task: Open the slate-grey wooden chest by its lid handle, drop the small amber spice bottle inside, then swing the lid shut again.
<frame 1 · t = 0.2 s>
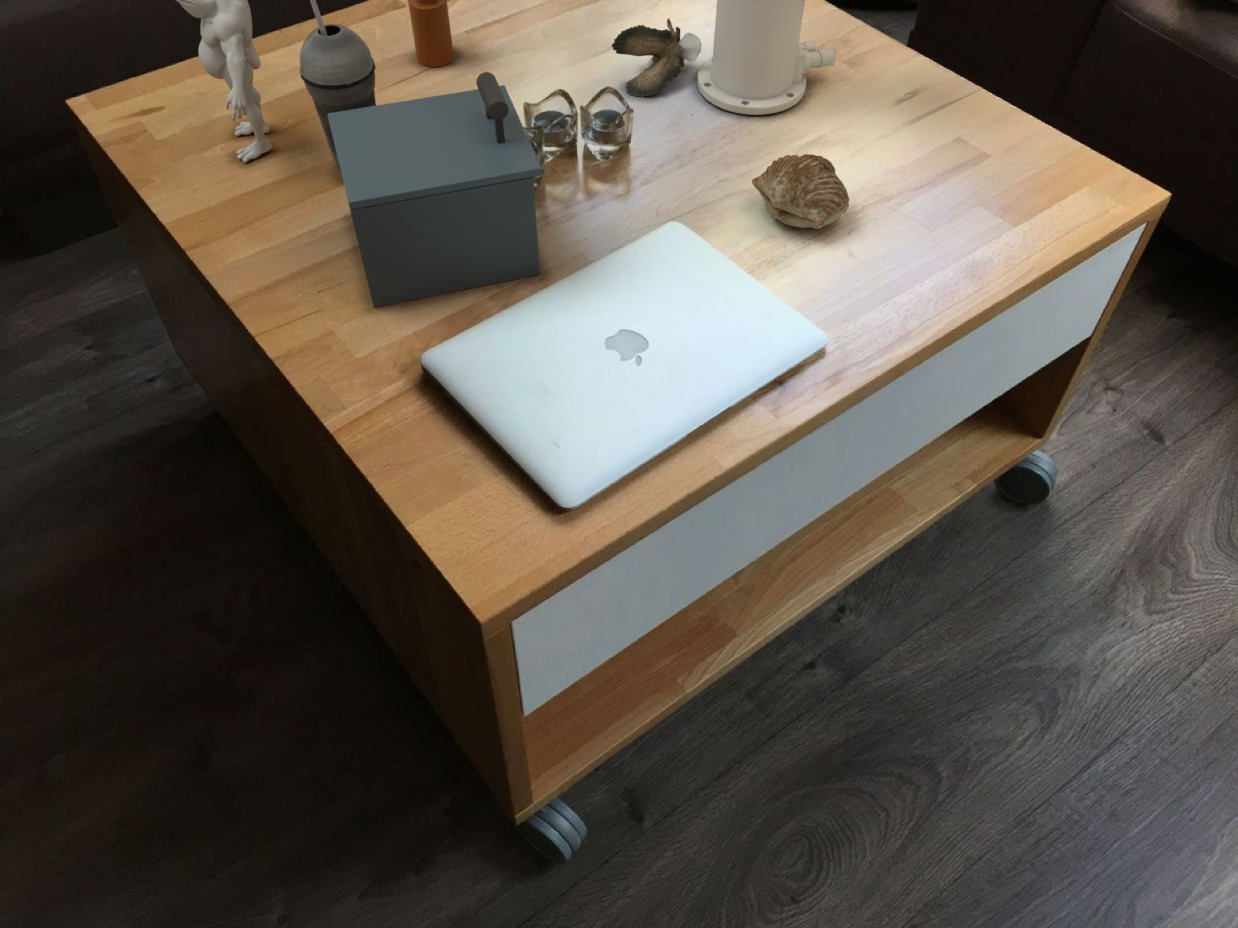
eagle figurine: (656, 79, 120), on the table
seashell: (794, 218, 104), on the table
figurine: (255, 144, 112), on the table
beverage cup: (360, 171, 109), on the table
spice bottle: (435, 58, 123), on the table
chest: (443, 245, 101), on the table
lid: (428, 123, 90), point 14 cm above the table, hinge at 0.0°
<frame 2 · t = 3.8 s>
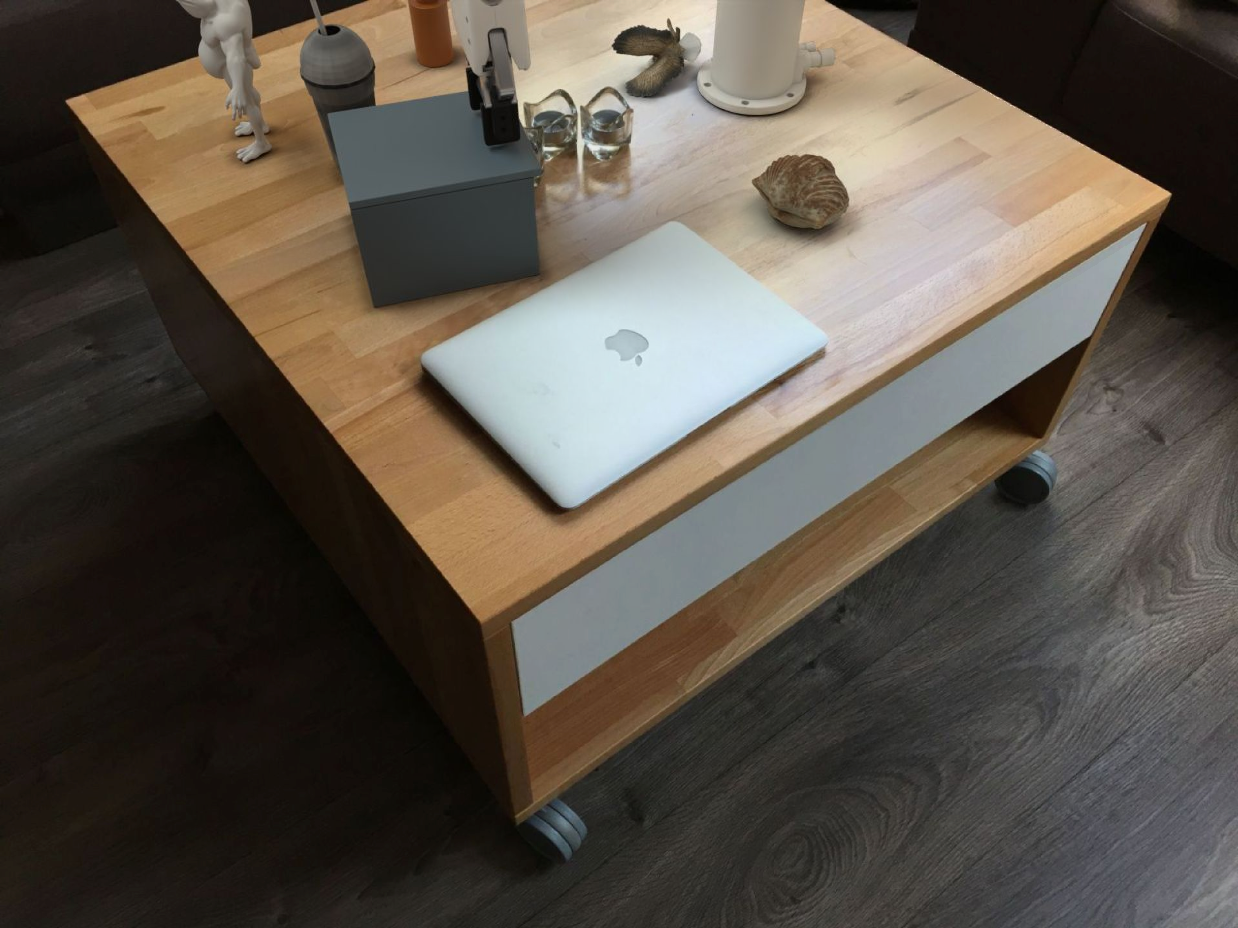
hand: (494, 122, 92), 13 cm above the table, tool pointing down, fingers closed on lid, 5 cm apart
lid: (428, 123, 90), point 14 cm above the table, hinge at 0.0°, touching gripper
everything else where it was.
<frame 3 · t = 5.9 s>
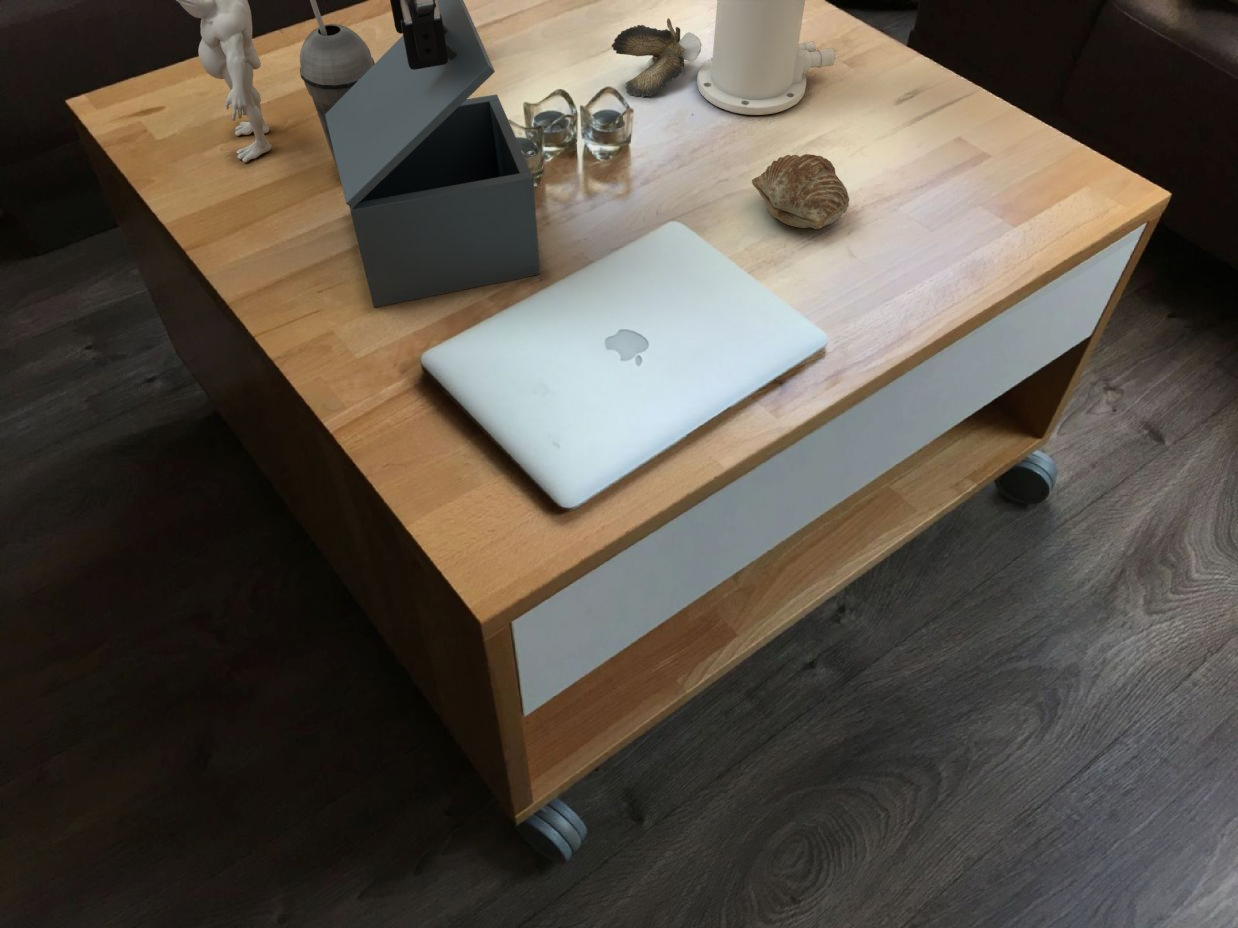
hand: (421, 45, 85), 21 cm above the table, tool pointing down, fingers closed on lid, 5 cm apart
lid: (385, 79, 86), point 18 cm above the table, hinge at 37.8°, touching gripper
everything else where it was.
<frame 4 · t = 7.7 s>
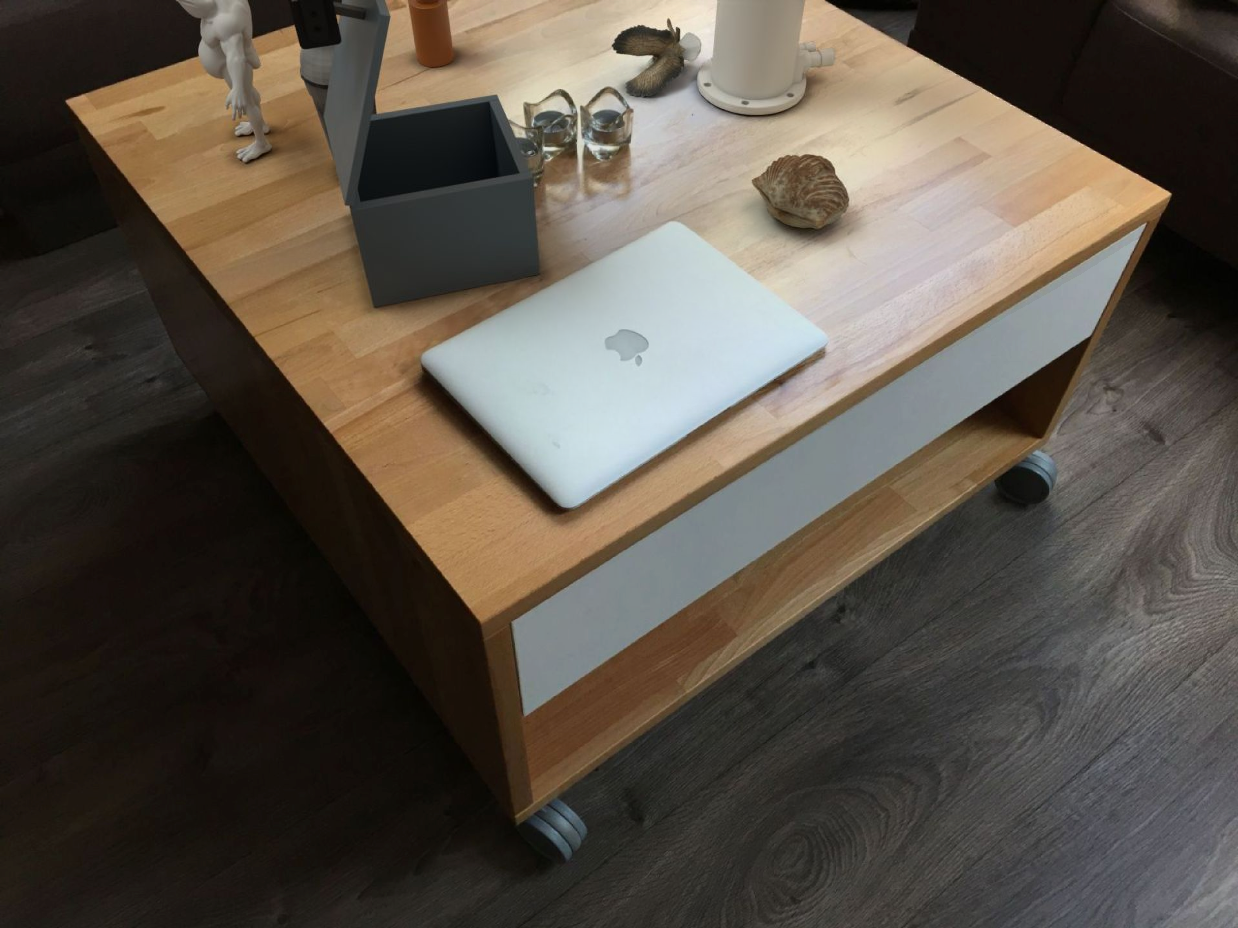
hand: (316, 24, 81), 24 cm above the table, tool pointing down, fingers closed on lid, 5 cm apart
lid: (327, 67, 84), point 20 cm above the table, hinge at 69.9°, touching gripper
everything else where it was.
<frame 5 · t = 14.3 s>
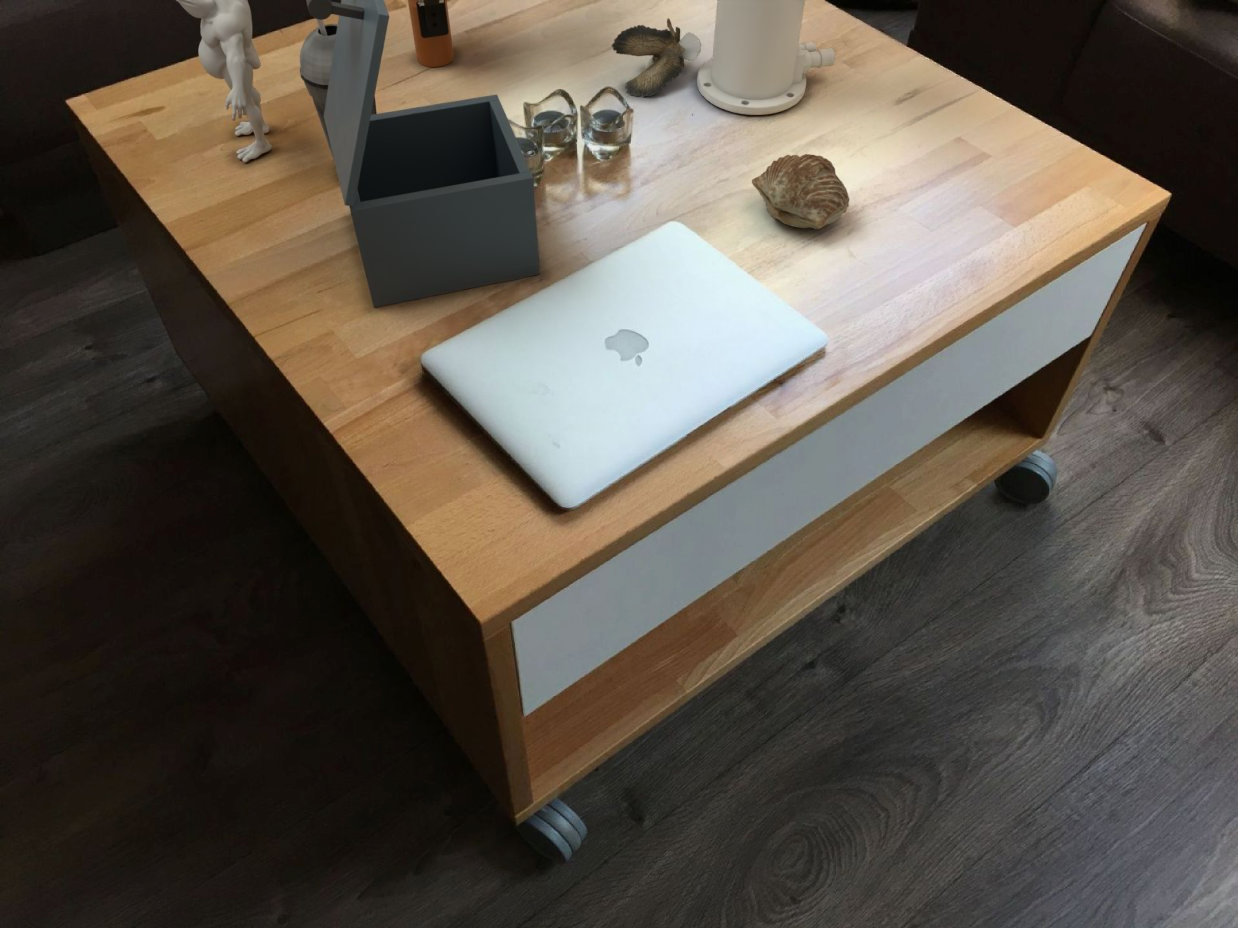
hand: (430, 23, 119), 4 cm above the table, tool pointing down, fingers closed on spice bottle, 4 cm apart
spice bottle: (435, 58, 123), on the table, touching gripper
lid: (327, 67, 84), point 20 cm above the table, hinge at 70.2°
everything else where it was.
when the fingers open (23 cm above the table, at t = 21.0 s): spice bottle drops 17 cm, resting on chest.
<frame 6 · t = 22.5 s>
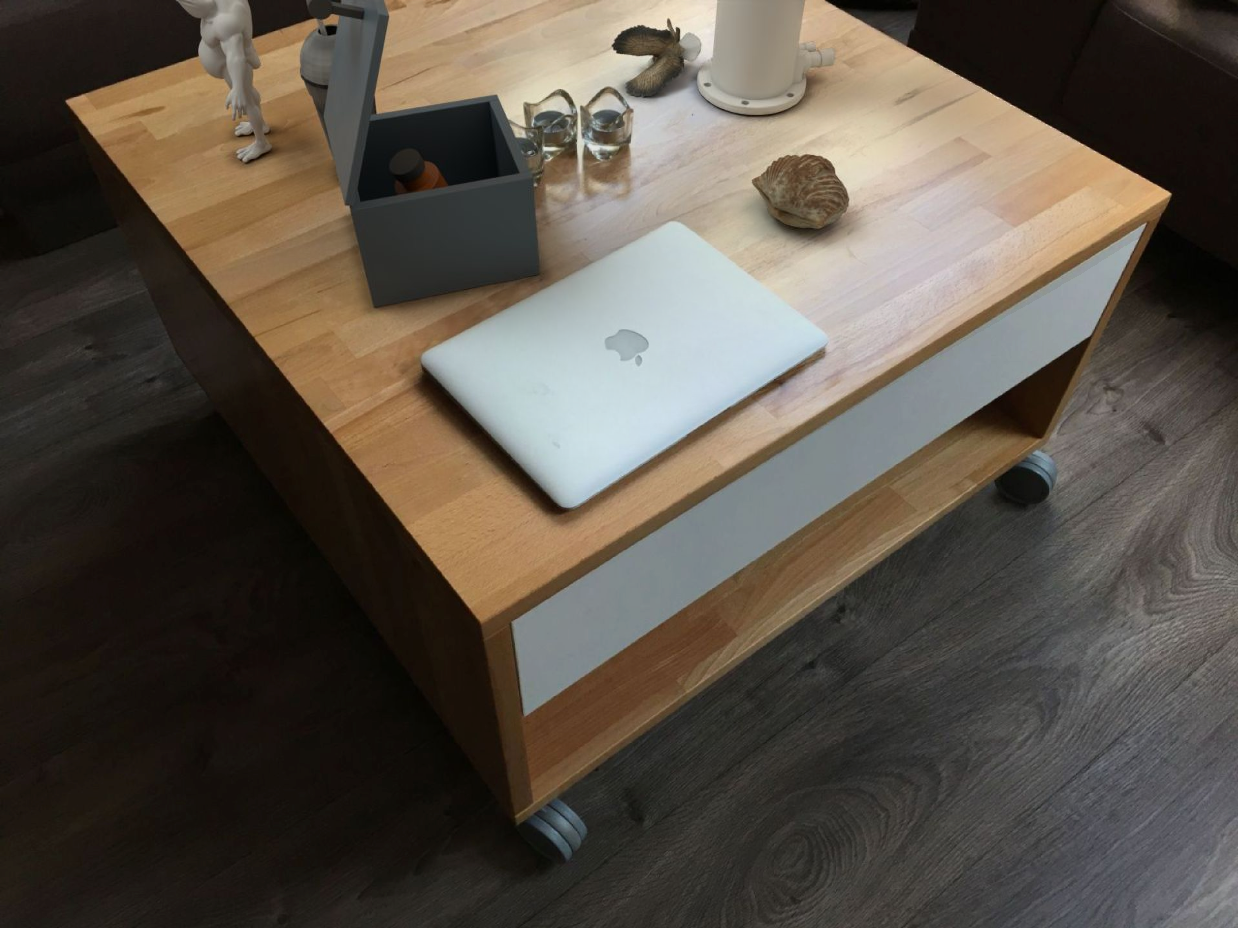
spice bottle: (449, 229, 99), point 2 cm above the table, tilted 20°, touching chest
everything else where it was.
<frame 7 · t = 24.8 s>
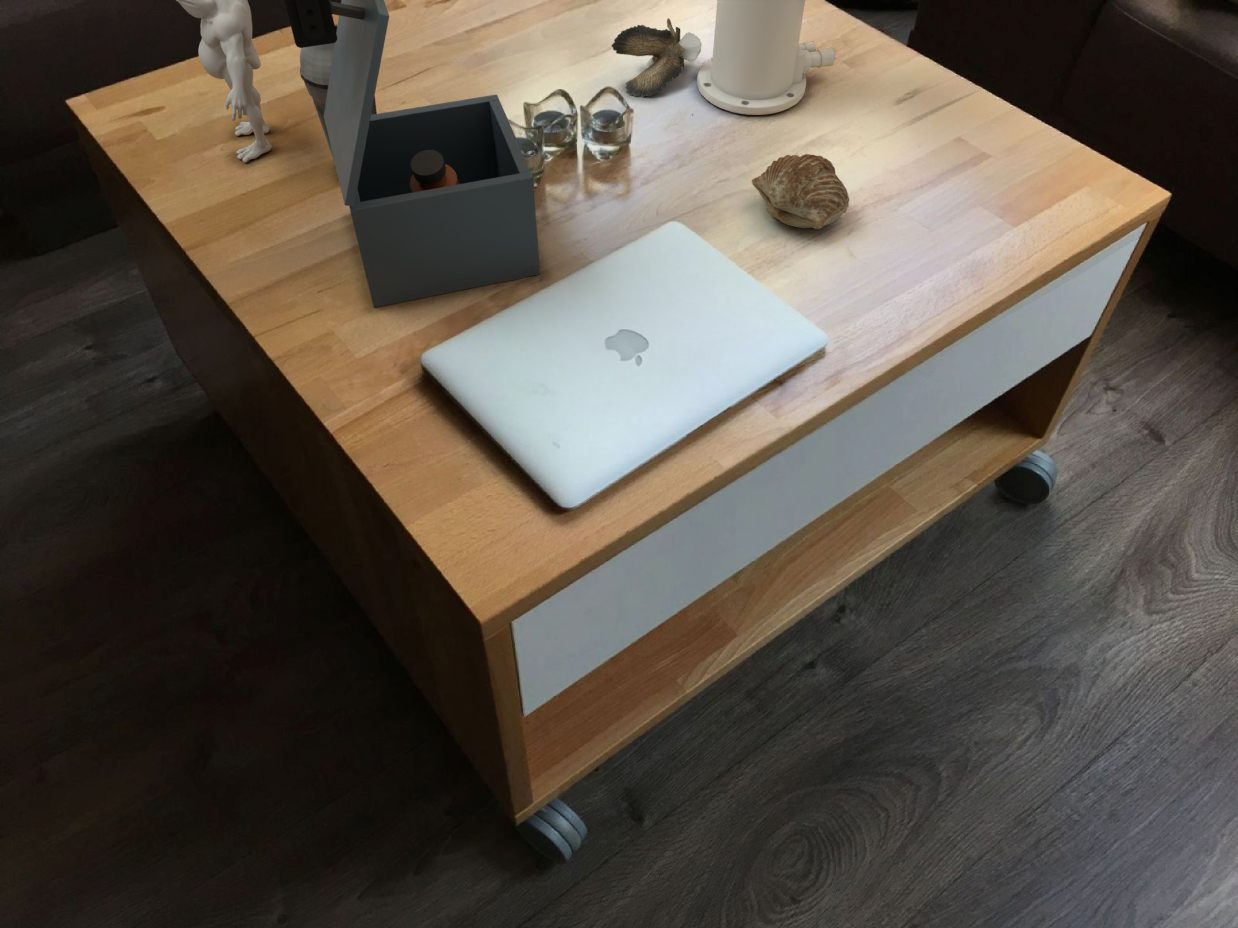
hand: (311, 23, 81), 24 cm above the table, tool pointing down, fingers closed on lid, 5 cm apart
spice bottle: (450, 231, 100), point 2 cm above the table, tilted 14°, touching chest
lid: (327, 67, 84), point 20 cm above the table, hinge at 70.2°, touching gripper
everything else where it was.
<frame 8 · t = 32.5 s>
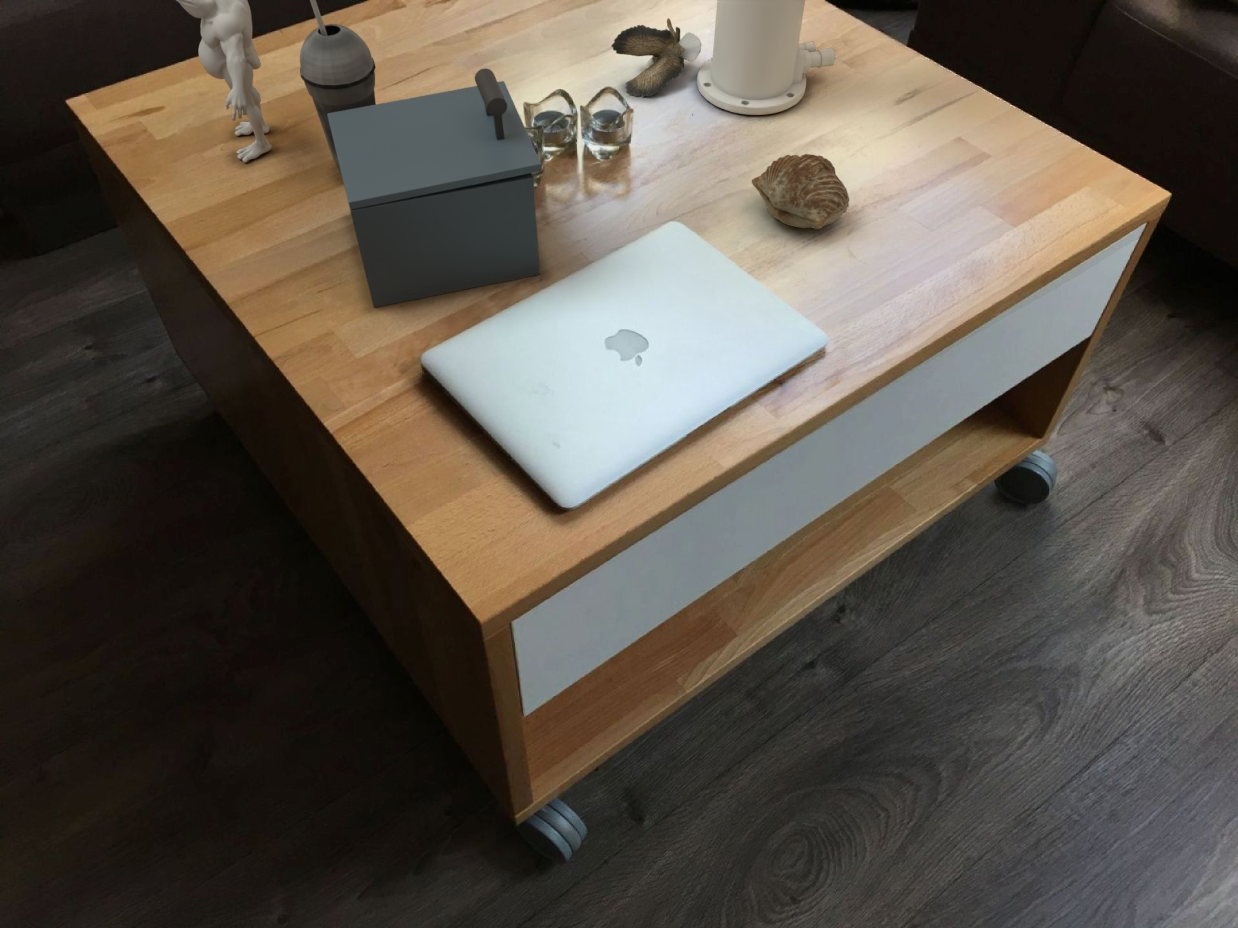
spice bottle: (451, 235, 100), point 1 cm above the table, touching chest
lid: (427, 121, 90), point 14 cm above the table, hinge at 1.5°
everything else where it was.
at the end: lid reached +70° during the clip, +2° at the end; spice bottle inside the target area in the chest (0.9 cm from its centre), point 1.0 cm above the chest's base; lid at +2° (first picture: +0°) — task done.
